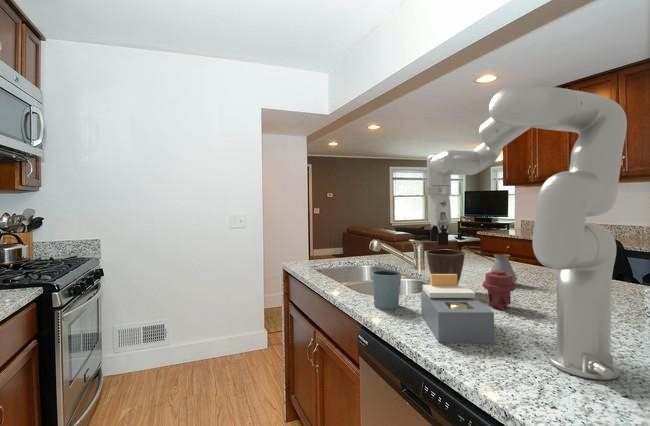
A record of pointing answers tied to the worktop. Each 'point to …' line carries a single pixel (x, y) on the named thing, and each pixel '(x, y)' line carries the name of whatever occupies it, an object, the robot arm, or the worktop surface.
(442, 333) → the housing
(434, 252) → the plant pot
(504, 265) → the coffee pot
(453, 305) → the peg
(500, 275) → the mechanical component
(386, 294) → the blue-grey cup
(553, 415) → the worktop surface
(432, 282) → the lid
